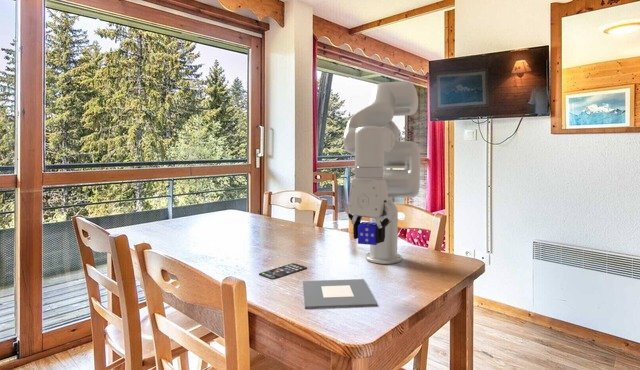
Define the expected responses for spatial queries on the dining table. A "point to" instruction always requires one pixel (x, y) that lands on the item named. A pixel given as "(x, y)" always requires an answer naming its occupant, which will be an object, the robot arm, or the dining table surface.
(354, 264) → the dining table surface
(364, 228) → the die
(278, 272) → the smartphone
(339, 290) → the mat
